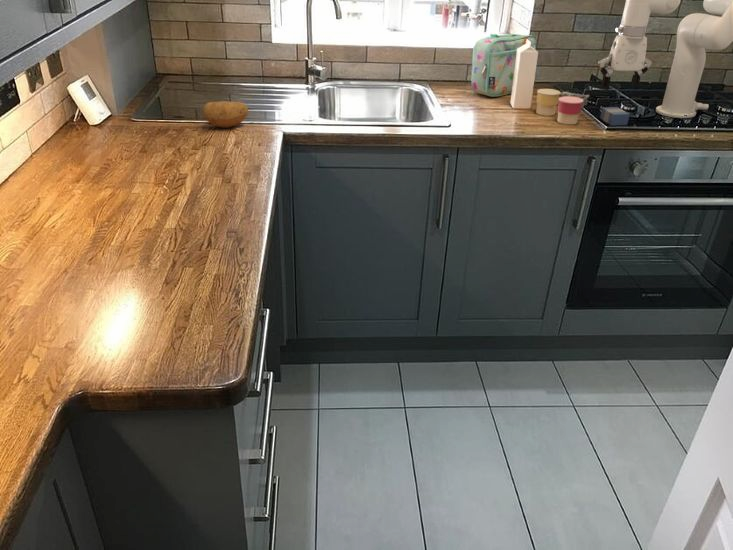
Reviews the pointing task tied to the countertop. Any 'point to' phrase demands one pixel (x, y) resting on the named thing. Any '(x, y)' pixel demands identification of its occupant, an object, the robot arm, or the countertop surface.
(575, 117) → the raspberry yogurt
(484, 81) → the lunch box
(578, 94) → the egg carton
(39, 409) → the countertop surface
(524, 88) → the milk
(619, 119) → the block
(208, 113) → the potato
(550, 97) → the vanilla yogurt
